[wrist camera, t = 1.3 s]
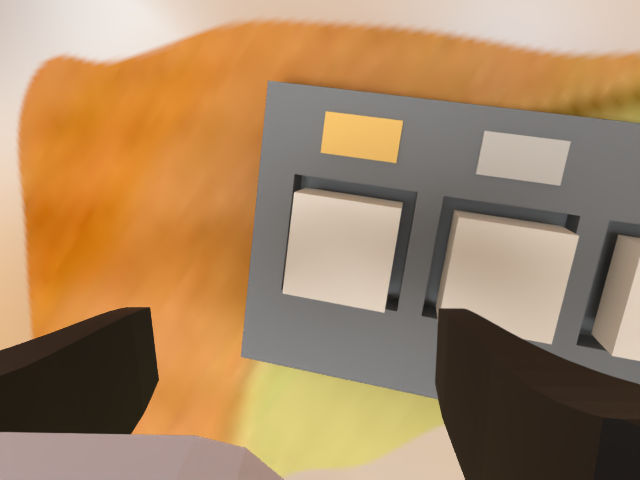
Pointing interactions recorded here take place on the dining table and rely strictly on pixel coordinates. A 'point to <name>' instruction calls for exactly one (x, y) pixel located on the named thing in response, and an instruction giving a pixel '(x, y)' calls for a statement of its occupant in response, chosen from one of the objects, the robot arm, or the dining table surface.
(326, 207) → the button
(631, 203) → the button board
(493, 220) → the button middle
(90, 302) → the dining table surface
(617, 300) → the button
